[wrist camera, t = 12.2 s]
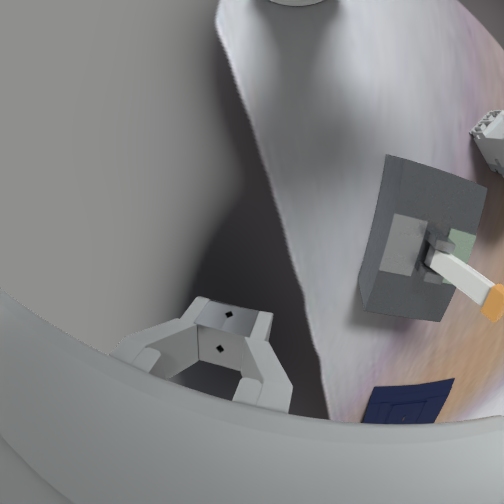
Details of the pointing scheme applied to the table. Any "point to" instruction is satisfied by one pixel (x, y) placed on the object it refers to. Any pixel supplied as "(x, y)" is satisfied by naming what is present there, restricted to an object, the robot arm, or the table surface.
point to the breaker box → (417, 238)
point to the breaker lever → (468, 282)
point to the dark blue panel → (407, 403)
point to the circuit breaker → (491, 139)
